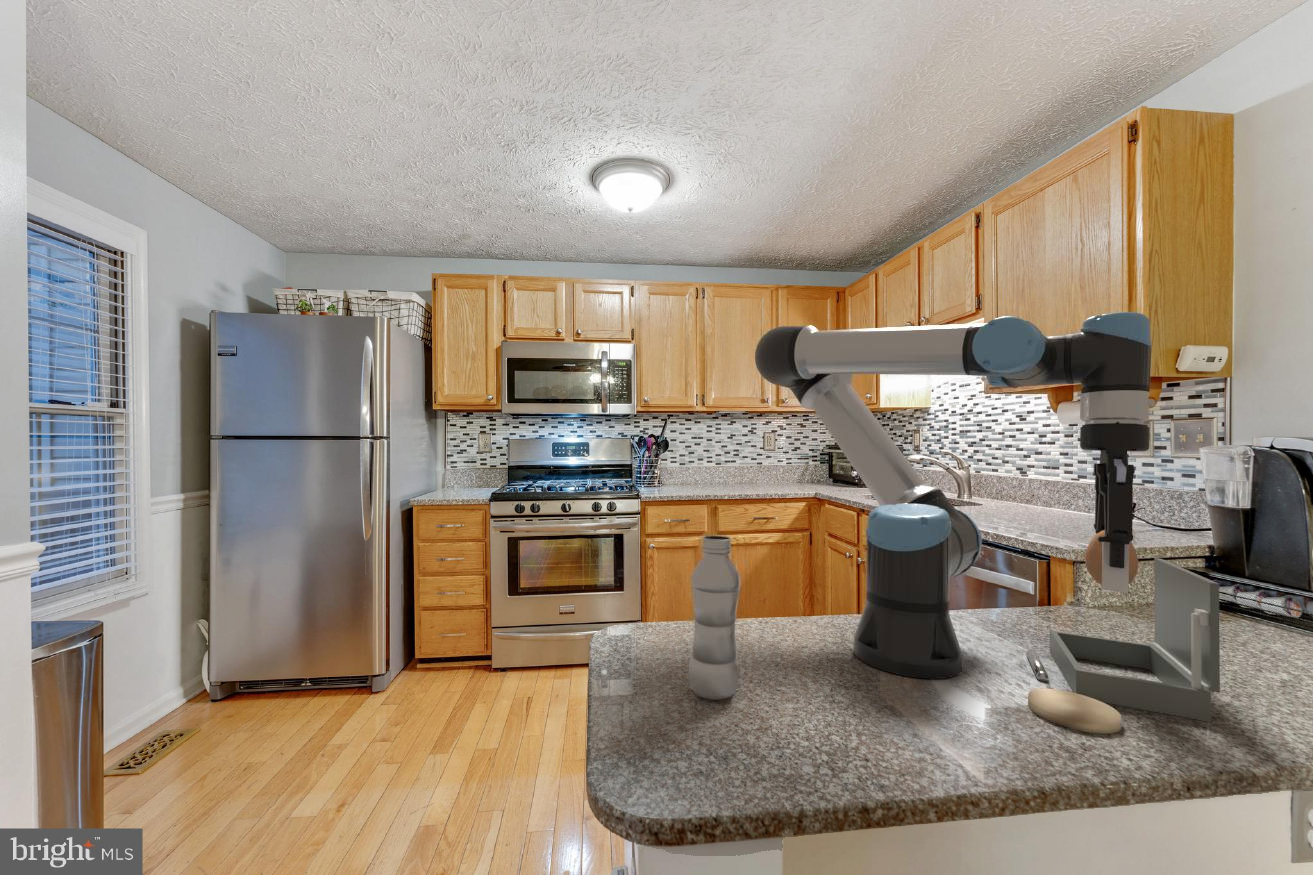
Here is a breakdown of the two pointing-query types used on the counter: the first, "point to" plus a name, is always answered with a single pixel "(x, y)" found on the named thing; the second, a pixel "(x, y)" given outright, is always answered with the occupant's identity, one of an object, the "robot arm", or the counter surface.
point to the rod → (1037, 665)
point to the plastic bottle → (714, 621)
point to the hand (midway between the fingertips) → (1111, 585)
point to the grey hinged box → (1156, 651)
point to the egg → (1095, 559)
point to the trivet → (1074, 711)
